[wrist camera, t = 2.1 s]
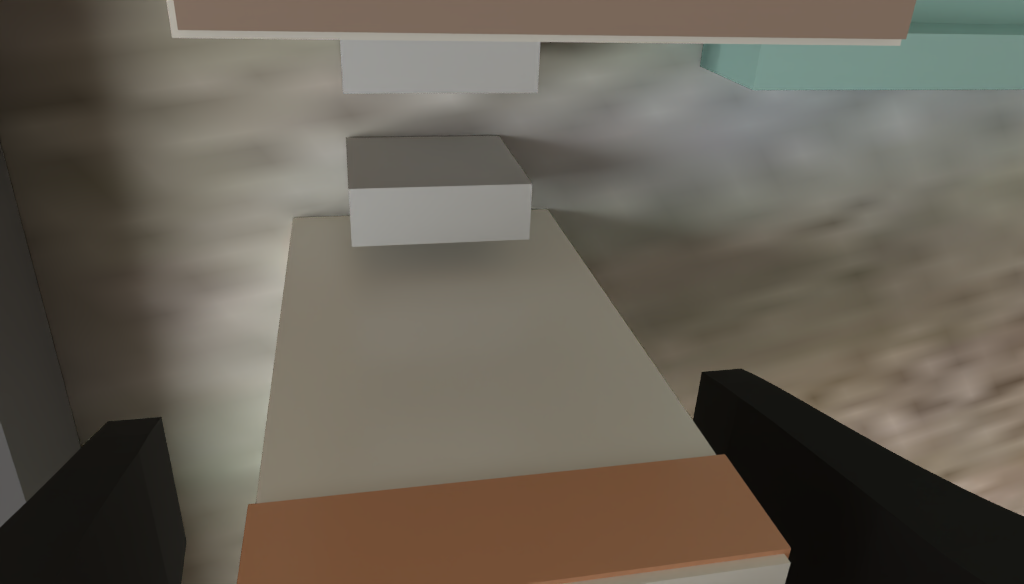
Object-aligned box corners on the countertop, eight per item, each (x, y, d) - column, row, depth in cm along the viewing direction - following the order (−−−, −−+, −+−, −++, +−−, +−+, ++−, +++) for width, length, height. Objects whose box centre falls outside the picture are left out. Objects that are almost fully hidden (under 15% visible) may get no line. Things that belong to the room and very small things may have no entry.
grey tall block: (550, 206, 13) (797, 557, 6) (536, 412, 15) (712, 859, 8) (289, 214, 12) (229, 635, 5) (310, 433, 14) (286, 951, 7)
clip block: (526, -701, 8) (593, -907, 6) (477, 751, 19) (494, 854, 17) (-551, -926, 6) (-985, -1332, 4) (82, 821, 18) (49, 945, 15)
